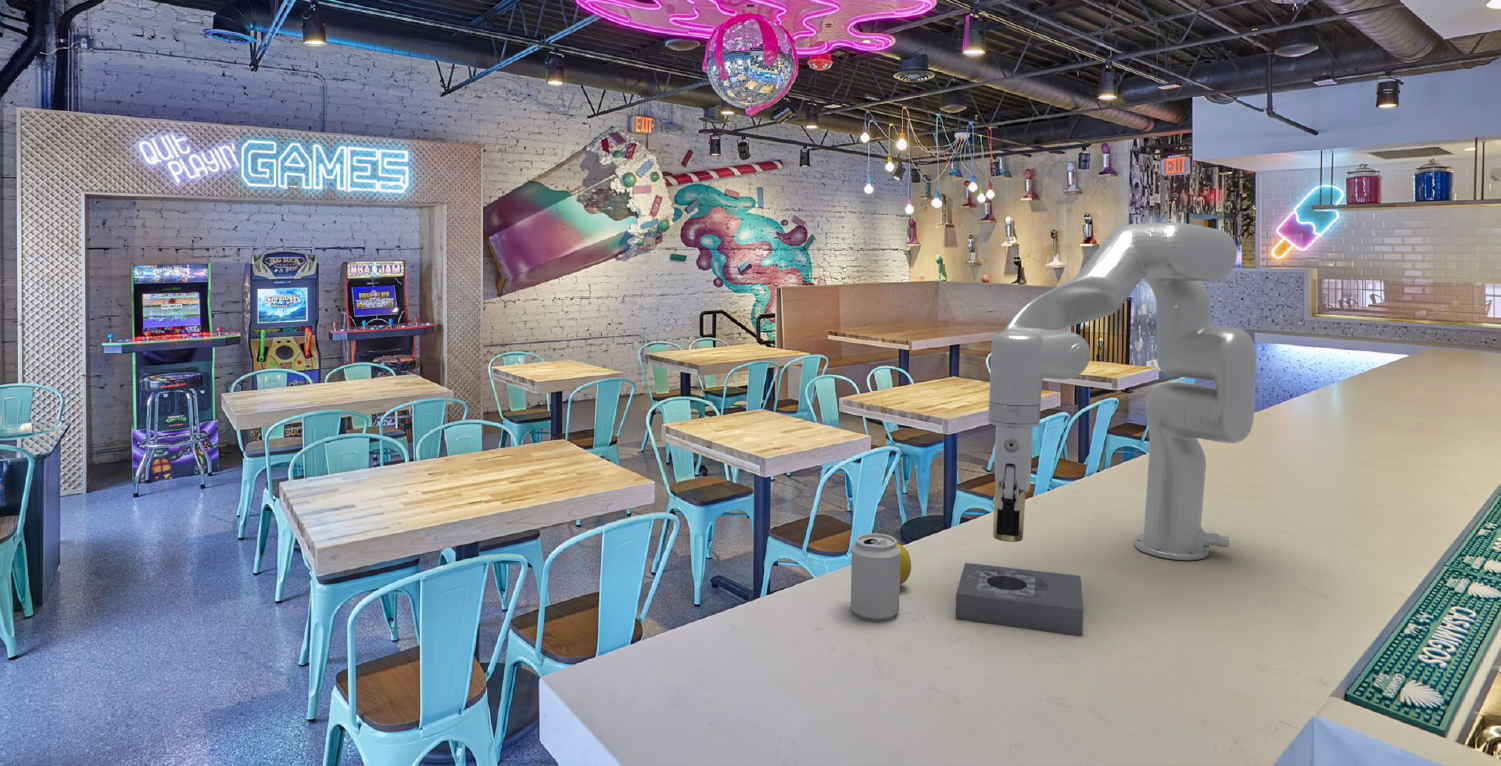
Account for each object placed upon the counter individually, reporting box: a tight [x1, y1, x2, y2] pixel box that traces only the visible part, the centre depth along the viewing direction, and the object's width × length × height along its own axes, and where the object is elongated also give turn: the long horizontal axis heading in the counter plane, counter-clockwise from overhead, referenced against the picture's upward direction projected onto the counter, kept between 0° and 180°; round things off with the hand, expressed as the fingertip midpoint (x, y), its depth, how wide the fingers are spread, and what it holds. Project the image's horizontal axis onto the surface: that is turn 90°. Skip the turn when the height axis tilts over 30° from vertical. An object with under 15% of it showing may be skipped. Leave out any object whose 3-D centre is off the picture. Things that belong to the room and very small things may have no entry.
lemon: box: [896, 542, 912, 586], centre depth 140 cm, size 6×6×8 cm
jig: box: [954, 562, 1084, 637], centre depth 132 cm, size 18×14×4 cm
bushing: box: [992, 484, 1026, 543], centre depth 130 cm, size 4×4×8 cm
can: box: [850, 533, 901, 622], centre depth 130 cm, size 8×8×12 cm
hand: (1008, 528), depth 131 cm, fingers closed on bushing, 4 cm apart
